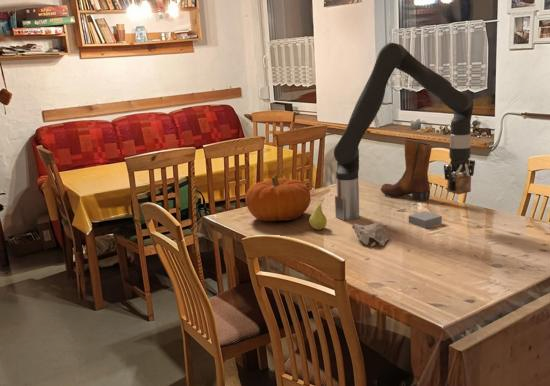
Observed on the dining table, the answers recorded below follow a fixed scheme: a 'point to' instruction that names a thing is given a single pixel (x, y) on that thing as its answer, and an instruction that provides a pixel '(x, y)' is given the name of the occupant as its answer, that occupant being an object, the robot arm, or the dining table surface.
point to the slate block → (425, 219)
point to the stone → (371, 233)
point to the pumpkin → (278, 199)
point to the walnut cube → (461, 184)
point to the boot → (413, 173)
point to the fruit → (318, 218)
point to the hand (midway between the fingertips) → (458, 188)
